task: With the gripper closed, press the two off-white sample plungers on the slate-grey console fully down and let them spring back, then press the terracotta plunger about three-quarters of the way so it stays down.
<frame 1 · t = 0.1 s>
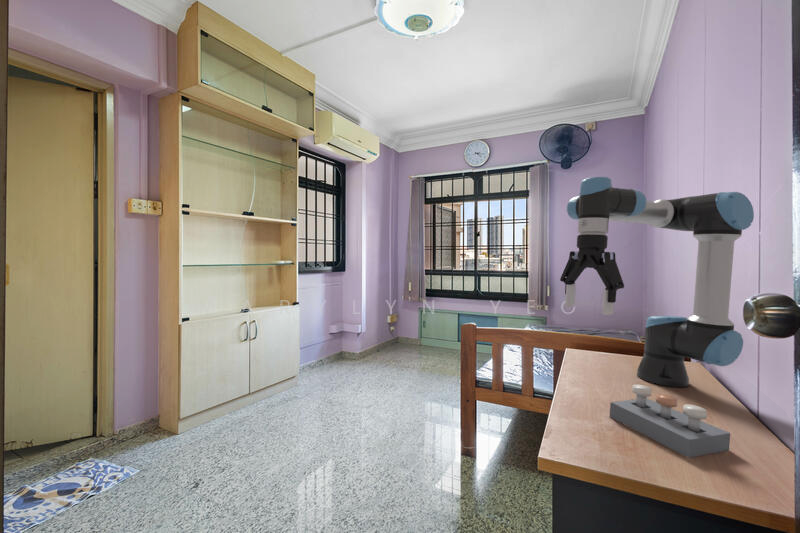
hand: (587, 310, 102), 28 cm above the table, fingers open, 13 cm apart
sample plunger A: (641, 397, 96), point 6 cm above the table, slide at 0.0 cm
terracotta plunger: (666, 407, 90), point 6 cm above the table, slide at 0.0 cm
console: (664, 432, 90), on the table
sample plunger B: (694, 419, 84), point 6 cm above the table, slide at 0.0 cm
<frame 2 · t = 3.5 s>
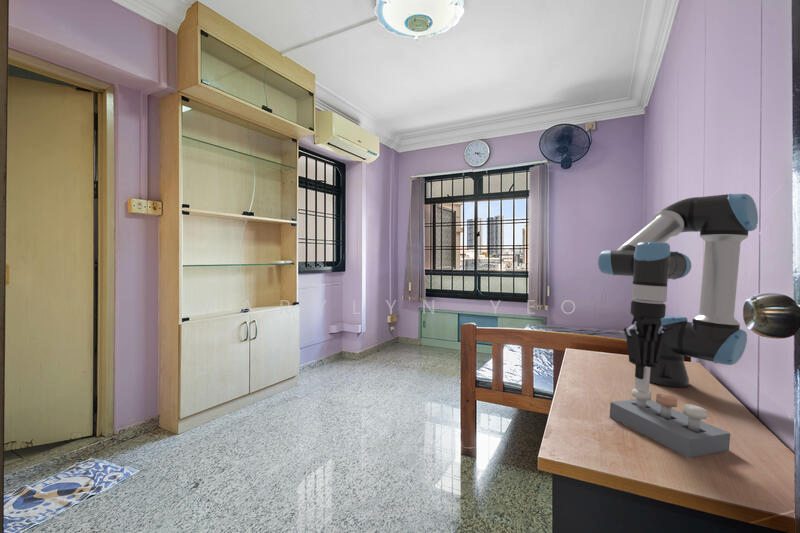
hand: (641, 390, 96), 8 cm above the table, fingers closed
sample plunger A: (641, 400, 96), point 5 cm above the table, slide at 1.0 cm, touching gripper
everything else where it was.
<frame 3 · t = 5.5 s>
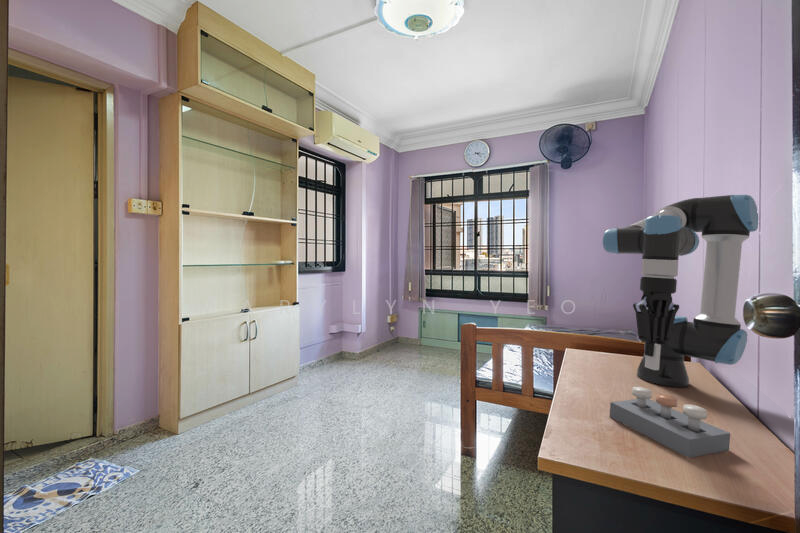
hand: (651, 368, 93), 15 cm above the table, fingers closed
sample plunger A: (641, 399, 96), point 6 cm above the table, slide at 0.6 cm
everything else where it was.
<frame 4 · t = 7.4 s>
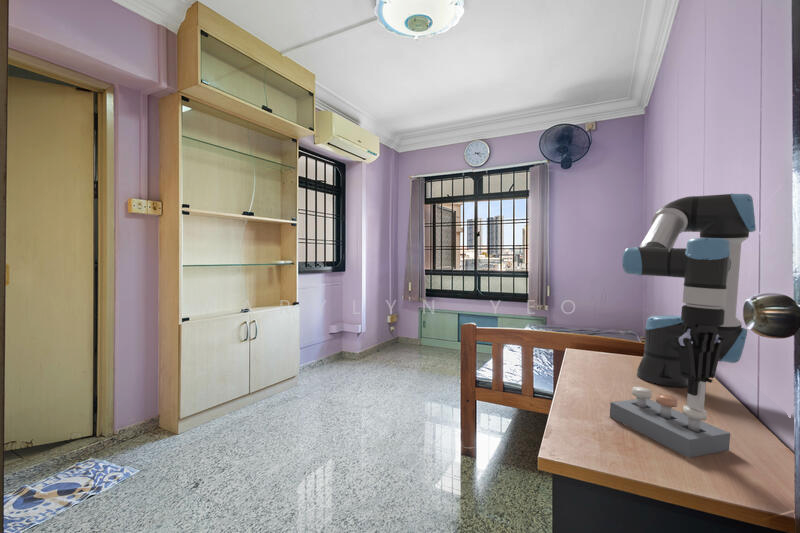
hand: (695, 408, 83), 9 cm above the table, fingers closed
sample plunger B: (694, 420, 84), point 6 cm above the table, slide at 0.2 cm, touching gripper
everything else where it was.
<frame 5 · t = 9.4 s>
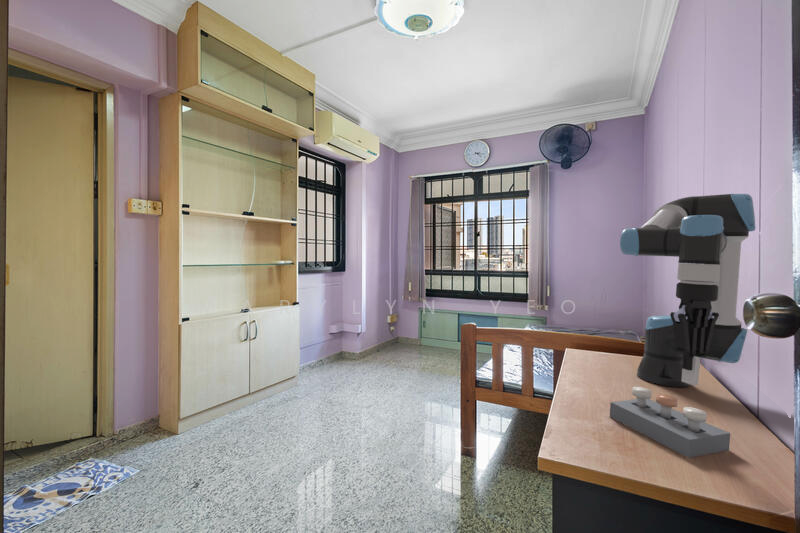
hand: (689, 383, 85), 14 cm above the table, fingers closed
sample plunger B: (694, 421, 84), point 6 cm above the table, slide at 0.6 cm
everything else where it was.
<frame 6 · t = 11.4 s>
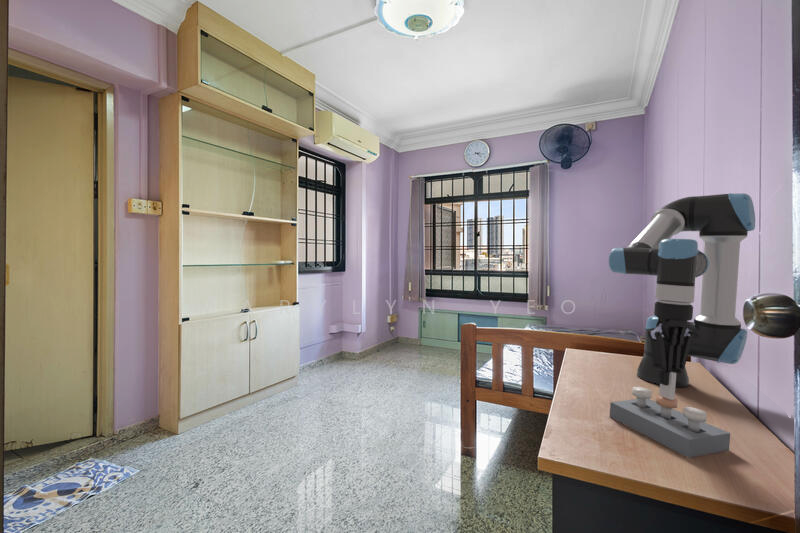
hand: (666, 397, 90), 9 cm above the table, fingers closed
terracotta plunger: (666, 408, 90), point 6 cm above the table, slide at 0.3 cm, touching gripper
everything else where it was.
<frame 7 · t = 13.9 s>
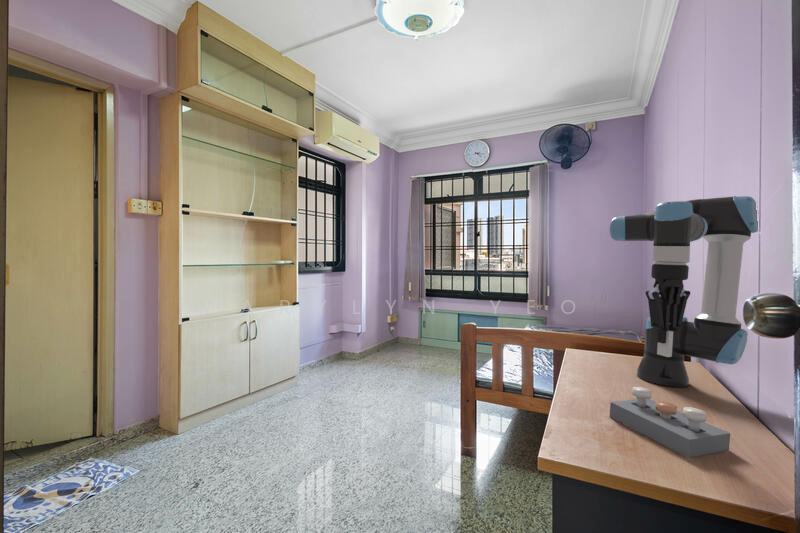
hand: (664, 355, 93), 18 cm above the table, fingers closed
terracotta plunger: (665, 414, 90), point 4 cm above the table, slide at 1.8 cm
everything else where it was.
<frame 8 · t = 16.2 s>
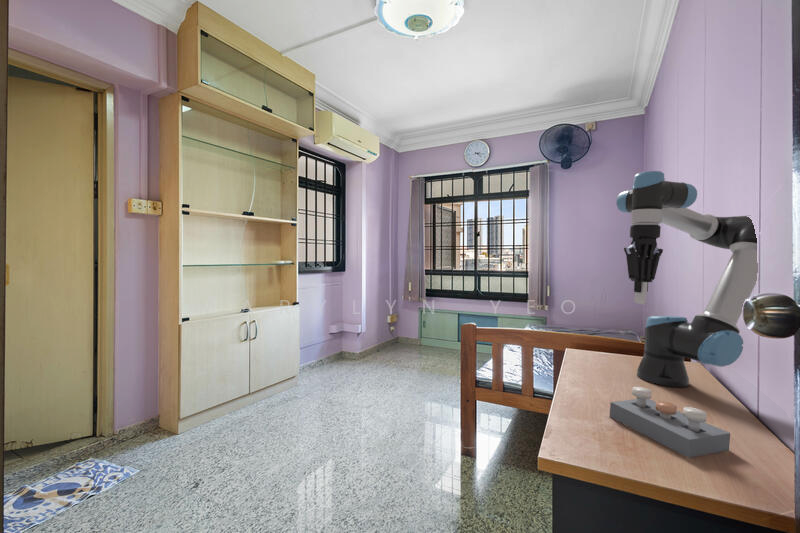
hand: (639, 303, 109), 29 cm above the table, fingers closed
nothing on the table moved.
at the end: terracotta plunger slide at 1.8 cm; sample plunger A slide at 0.6 cm; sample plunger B slide at 0.6 cm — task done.
